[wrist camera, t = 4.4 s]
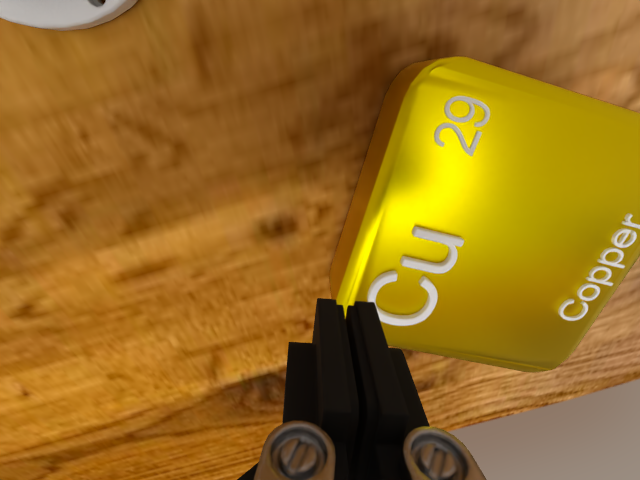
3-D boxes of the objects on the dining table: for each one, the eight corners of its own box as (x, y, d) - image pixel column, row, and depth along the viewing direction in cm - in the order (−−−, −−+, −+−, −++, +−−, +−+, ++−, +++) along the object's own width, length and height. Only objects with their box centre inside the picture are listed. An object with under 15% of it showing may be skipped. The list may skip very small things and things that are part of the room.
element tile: (519, 335, 26) (563, 387, 22) (320, 294, 24) (324, 341, 20) (644, 128, 20) (737, 141, 16) (397, 50, 18) (427, 39, 14)
